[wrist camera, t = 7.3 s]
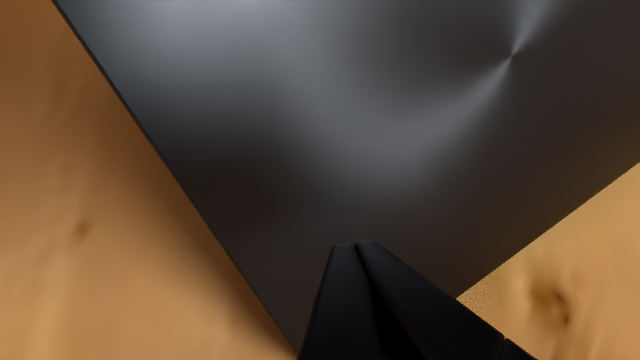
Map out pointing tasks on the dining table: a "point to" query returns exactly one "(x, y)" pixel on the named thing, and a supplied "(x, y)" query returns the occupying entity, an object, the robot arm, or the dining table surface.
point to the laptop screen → (374, 124)
